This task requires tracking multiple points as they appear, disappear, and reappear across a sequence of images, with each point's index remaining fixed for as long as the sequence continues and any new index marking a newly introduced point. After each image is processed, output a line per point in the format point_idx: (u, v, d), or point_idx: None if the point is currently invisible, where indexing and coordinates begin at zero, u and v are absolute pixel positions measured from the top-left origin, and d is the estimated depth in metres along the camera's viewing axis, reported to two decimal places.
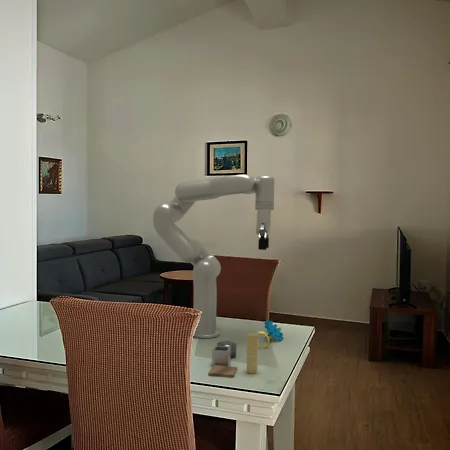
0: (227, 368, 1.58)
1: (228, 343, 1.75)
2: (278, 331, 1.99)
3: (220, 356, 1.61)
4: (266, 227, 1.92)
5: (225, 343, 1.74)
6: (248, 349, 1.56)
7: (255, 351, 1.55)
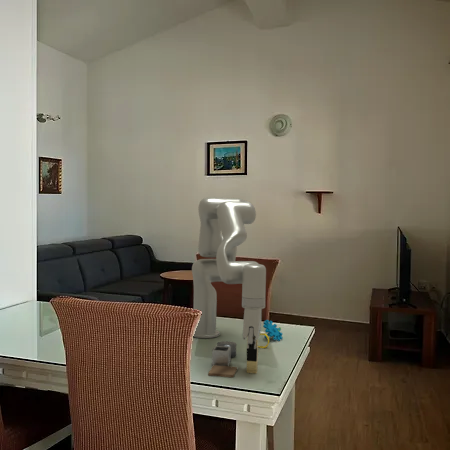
0: (227, 368, 1.58)
1: (228, 343, 1.75)
2: (277, 331, 1.99)
3: (220, 356, 1.61)
4: (255, 332, 1.52)
5: (225, 343, 1.74)
6: None
7: None
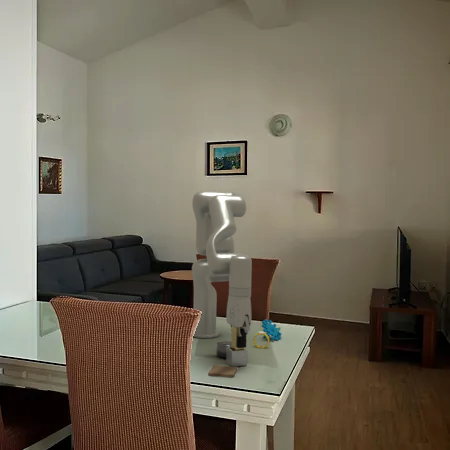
0: (227, 368, 1.58)
1: (226, 342, 1.75)
2: (276, 331, 1.99)
3: (239, 356, 1.62)
4: (250, 319, 1.61)
5: (225, 343, 1.74)
6: None
7: None
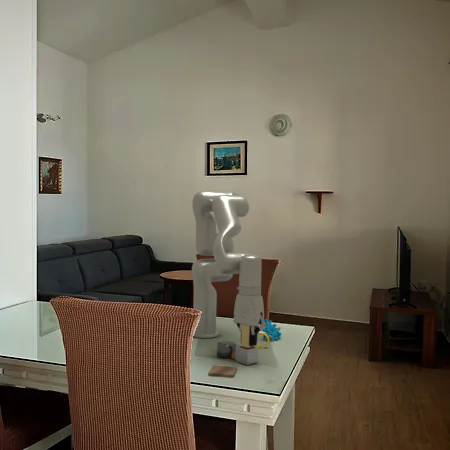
0: (227, 368, 1.58)
1: (225, 343, 1.75)
2: (276, 331, 1.99)
3: (253, 354, 1.65)
4: (263, 316, 1.65)
5: (224, 343, 1.74)
6: (249, 335, 1.65)
7: None
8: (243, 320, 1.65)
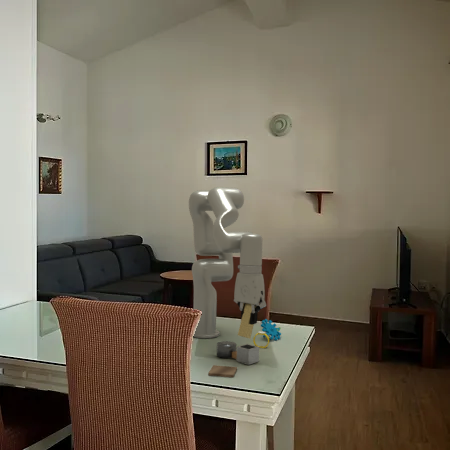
0: (227, 368, 1.58)
1: (225, 343, 1.75)
2: (276, 330, 1.99)
3: (254, 353, 1.65)
4: (264, 295, 1.65)
5: (224, 343, 1.74)
6: None
7: None
8: (243, 298, 1.65)
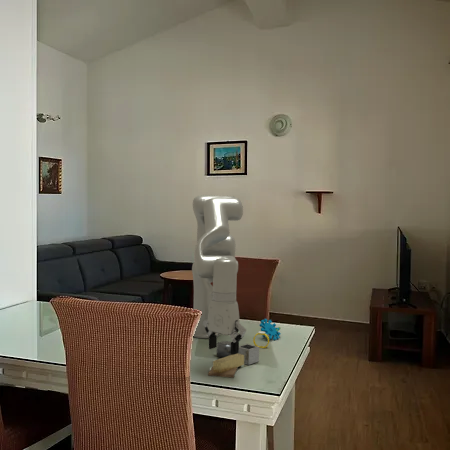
0: None
1: (225, 343, 1.75)
2: (275, 330, 2.00)
3: (254, 353, 1.65)
4: None
5: (224, 343, 1.74)
6: (235, 359, 1.58)
7: (234, 366, 1.58)
8: (217, 328, 1.54)
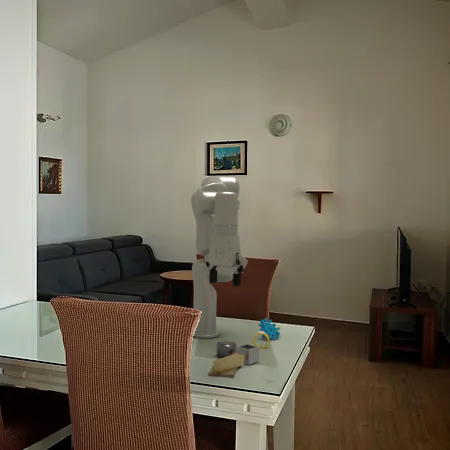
0: None
1: (225, 343, 1.75)
2: (275, 330, 2.00)
3: (254, 353, 1.65)
4: None
5: (224, 343, 1.74)
6: (235, 359, 1.58)
7: (234, 366, 1.58)
8: (218, 261, 1.53)
